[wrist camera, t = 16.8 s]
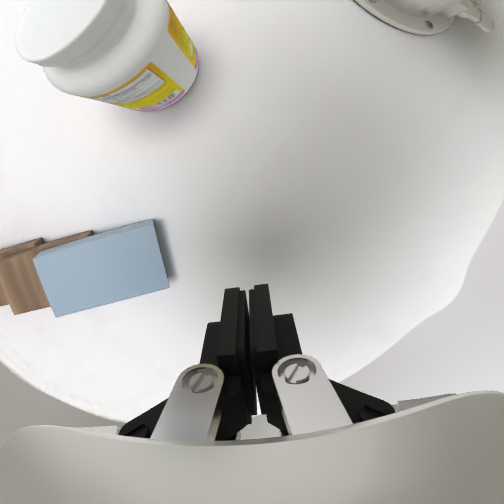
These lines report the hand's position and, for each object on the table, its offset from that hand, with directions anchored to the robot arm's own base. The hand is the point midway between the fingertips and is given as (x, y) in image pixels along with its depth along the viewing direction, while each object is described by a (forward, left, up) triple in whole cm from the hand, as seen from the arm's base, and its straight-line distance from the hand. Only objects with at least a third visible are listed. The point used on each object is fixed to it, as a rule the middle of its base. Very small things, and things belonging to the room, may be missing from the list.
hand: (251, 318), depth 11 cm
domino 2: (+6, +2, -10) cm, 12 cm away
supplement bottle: (+8, -12, -11) cm, 18 cm away
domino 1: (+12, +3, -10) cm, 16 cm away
